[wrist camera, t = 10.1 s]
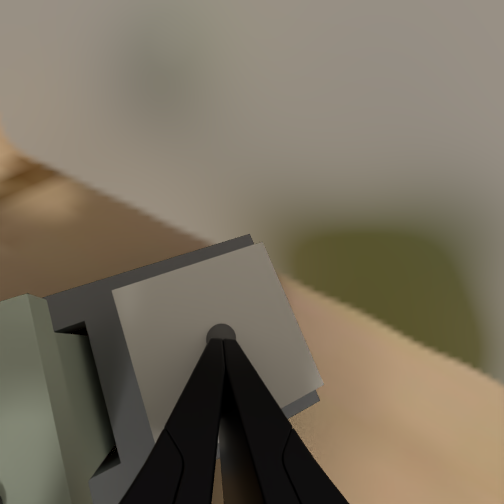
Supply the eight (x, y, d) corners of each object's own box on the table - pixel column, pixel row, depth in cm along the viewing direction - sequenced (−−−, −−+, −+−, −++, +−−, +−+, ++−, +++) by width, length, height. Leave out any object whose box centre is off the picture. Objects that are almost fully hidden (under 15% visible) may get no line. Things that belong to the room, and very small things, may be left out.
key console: (282, 385, 16) (320, 400, 12) (-219, 646, 10) (-576, 911, 5) (233, 262, 18) (249, 233, 13) (-219, 414, 12) (-487, 460, 7)
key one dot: (268, 369, 16) (325, 385, 10) (173, 416, 14) (162, 475, 8) (234, 280, 17) (263, 240, 11) (142, 313, 16) (110, 289, 9)
